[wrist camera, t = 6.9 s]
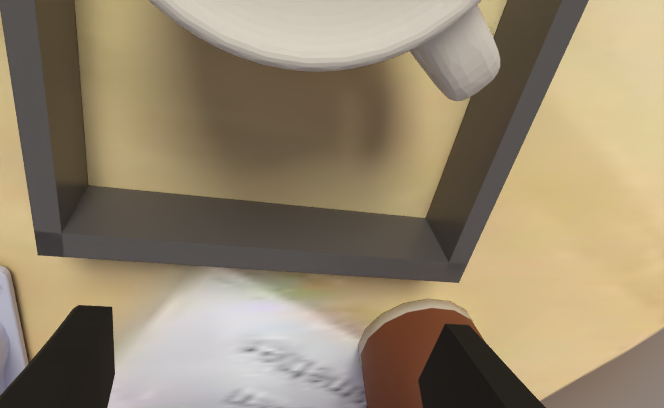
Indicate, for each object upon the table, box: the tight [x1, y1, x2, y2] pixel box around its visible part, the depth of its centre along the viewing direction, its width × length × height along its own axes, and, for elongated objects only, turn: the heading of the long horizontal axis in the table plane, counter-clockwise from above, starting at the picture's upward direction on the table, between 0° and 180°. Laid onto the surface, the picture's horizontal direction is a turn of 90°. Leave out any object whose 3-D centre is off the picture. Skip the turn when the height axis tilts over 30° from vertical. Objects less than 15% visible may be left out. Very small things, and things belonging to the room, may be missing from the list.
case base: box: [0, 0, 589, 283], centre depth 14 cm, size 18×15×3 cm
